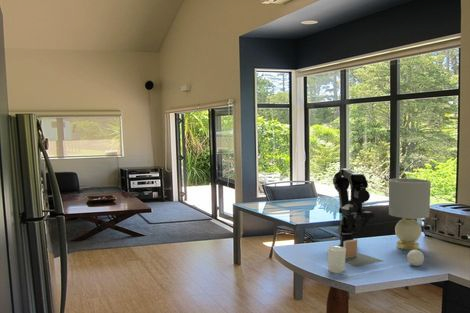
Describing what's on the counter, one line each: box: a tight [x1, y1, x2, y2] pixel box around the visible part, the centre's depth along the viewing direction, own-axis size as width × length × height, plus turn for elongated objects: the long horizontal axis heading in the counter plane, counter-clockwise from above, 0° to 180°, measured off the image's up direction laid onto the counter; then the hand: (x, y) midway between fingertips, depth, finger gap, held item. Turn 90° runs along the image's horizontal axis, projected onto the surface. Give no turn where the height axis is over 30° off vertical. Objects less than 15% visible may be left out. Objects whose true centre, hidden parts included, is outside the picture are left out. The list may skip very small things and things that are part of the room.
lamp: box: [388, 177, 432, 251], centre depth 251 cm, size 20×20×35 cm
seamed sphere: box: [406, 249, 425, 267], centre depth 219 cm, size 10×7×7 cm
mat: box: [345, 252, 384, 267], centre depth 227 cm, size 16×18×1 cm
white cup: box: [327, 245, 346, 274], centre depth 210 cm, size 8×8×10 cm
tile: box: [343, 238, 358, 258], centre depth 231 cm, size 1×8×8 cm, turn 121°
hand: (355, 229), depth 239 cm, fingers open, 7 cm apart
